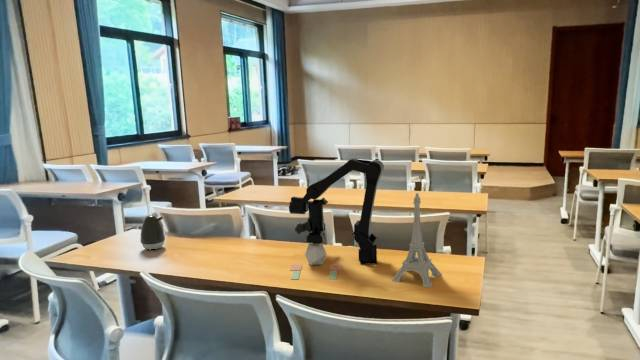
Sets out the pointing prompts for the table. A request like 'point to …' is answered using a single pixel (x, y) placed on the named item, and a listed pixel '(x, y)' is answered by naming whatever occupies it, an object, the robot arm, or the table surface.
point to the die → (315, 254)
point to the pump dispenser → (152, 233)
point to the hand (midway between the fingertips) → (317, 252)
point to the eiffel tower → (422, 261)
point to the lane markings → (298, 267)
